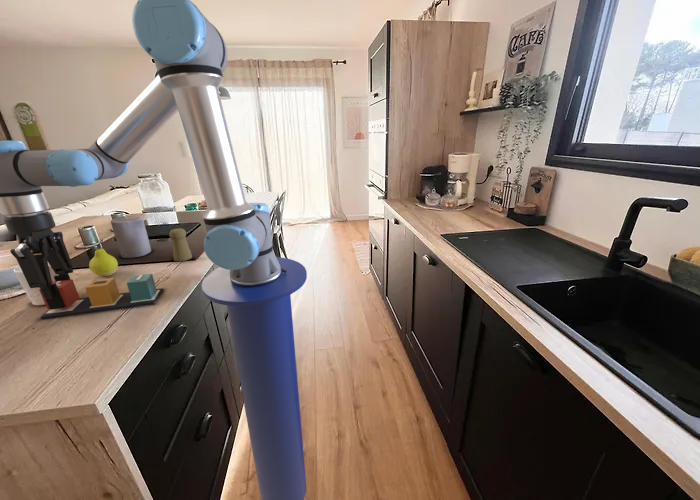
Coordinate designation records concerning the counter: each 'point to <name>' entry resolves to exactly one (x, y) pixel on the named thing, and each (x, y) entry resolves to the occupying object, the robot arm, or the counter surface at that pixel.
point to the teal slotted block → (141, 287)
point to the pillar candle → (131, 236)
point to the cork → (180, 245)
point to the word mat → (86, 307)
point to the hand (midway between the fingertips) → (64, 302)
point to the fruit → (103, 263)
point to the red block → (65, 292)
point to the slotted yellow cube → (103, 292)
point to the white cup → (32, 292)
